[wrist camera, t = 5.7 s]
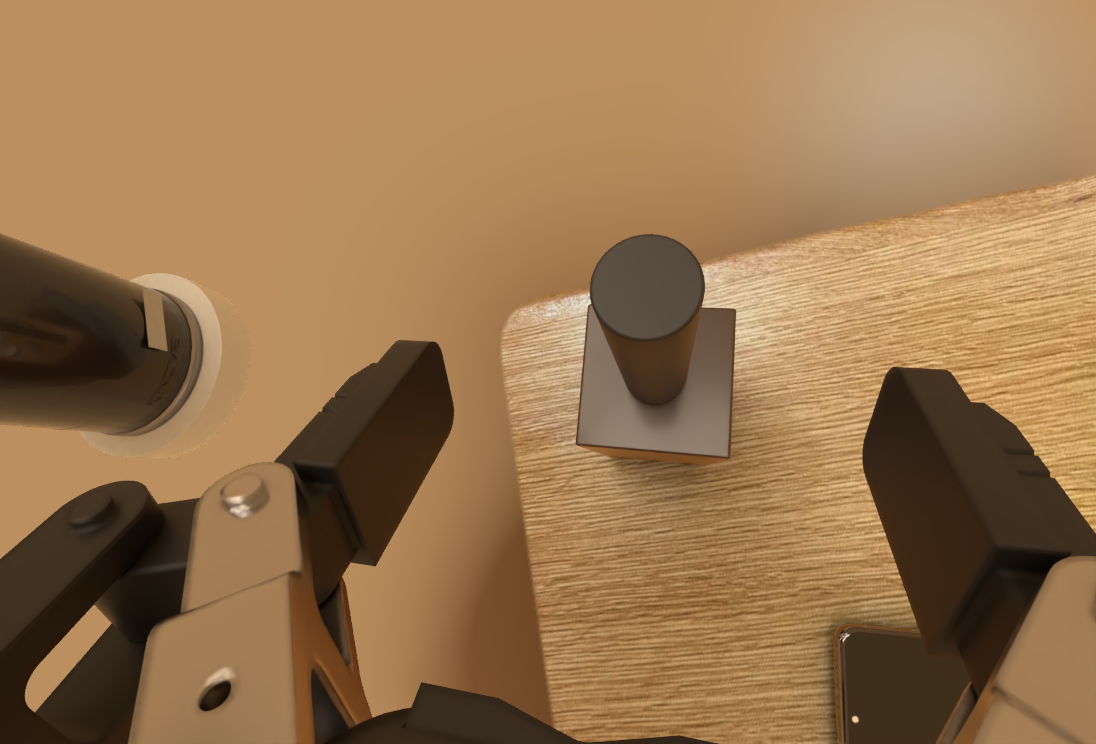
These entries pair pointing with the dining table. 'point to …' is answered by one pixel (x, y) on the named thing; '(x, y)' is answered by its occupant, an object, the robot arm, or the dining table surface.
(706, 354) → the stand
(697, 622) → the dining table surface
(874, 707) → the smartphone
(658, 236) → the stylus
